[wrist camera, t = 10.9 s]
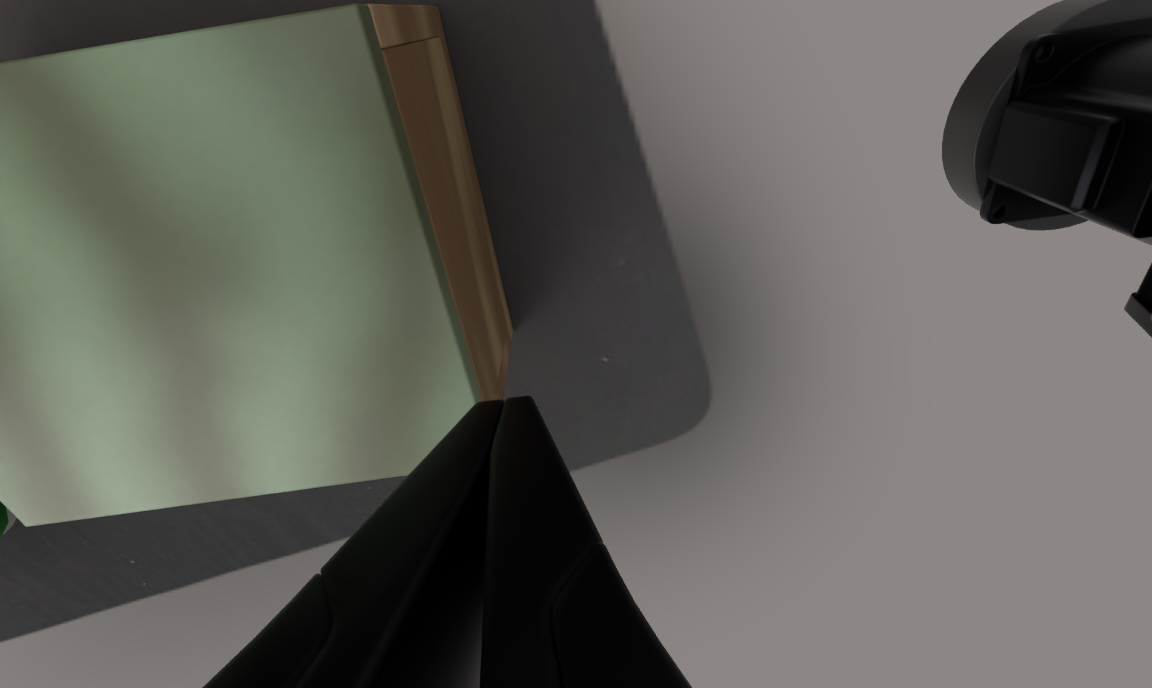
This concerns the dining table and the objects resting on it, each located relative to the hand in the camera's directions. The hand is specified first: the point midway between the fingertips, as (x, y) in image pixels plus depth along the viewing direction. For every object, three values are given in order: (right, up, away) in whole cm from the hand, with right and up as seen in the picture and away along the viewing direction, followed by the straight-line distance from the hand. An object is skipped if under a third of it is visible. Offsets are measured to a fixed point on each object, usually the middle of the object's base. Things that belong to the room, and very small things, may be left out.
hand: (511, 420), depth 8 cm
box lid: (-9, +2, +6) cm, 11 cm away
